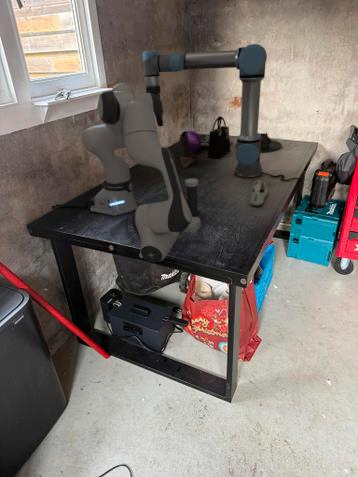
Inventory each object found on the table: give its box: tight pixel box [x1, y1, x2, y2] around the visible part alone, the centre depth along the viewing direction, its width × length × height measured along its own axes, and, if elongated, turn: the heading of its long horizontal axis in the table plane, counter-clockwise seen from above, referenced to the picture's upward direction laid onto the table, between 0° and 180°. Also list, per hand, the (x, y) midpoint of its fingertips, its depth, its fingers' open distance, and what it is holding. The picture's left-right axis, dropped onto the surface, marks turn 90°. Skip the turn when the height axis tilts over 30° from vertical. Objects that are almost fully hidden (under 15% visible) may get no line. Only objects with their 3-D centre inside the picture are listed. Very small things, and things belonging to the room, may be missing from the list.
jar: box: [186, 185, 199, 216], centre depth 145 cm, size 5×5×15 cm
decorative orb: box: [178, 130, 202, 154], centre depth 230 cm, size 15×15×15 cm
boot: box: [178, 130, 197, 169], centre depth 209 cm, size 9×24×20 cm, turn 168°
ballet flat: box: [249, 179, 269, 207], centre depth 158 cm, size 8×24×8 cm, turn 163°
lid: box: [184, 178, 199, 187], centre depth 142 cm, size 6×6×2 cm
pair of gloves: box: [198, 134, 234, 150], centre depth 250 cm, size 30×26×5 cm
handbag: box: [206, 115, 231, 159], centre depth 220 cm, size 21×9×25 cm, turn 148°
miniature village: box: [235, 132, 282, 154], centre depth 237 cm, size 32×35×9 cm
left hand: (178, 214), depth 125 cm, fingers open, 8 cm apart
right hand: (156, 128), depth 177 cm, fingers open, 13 cm apart
